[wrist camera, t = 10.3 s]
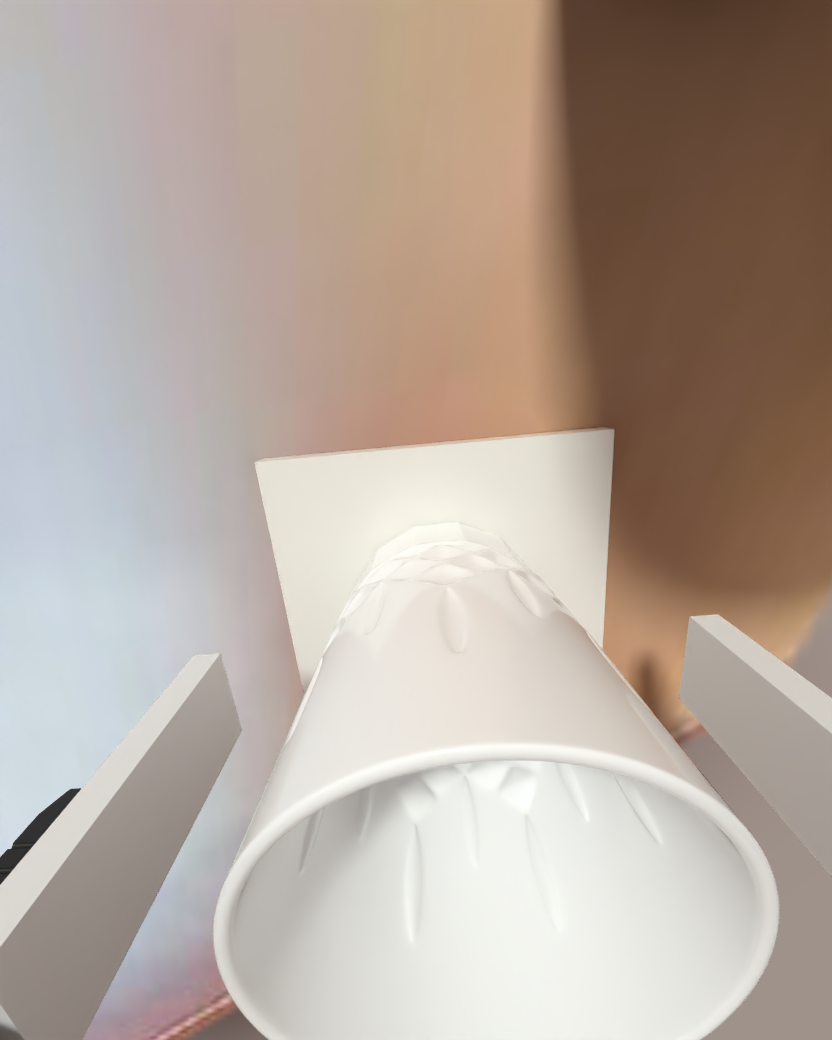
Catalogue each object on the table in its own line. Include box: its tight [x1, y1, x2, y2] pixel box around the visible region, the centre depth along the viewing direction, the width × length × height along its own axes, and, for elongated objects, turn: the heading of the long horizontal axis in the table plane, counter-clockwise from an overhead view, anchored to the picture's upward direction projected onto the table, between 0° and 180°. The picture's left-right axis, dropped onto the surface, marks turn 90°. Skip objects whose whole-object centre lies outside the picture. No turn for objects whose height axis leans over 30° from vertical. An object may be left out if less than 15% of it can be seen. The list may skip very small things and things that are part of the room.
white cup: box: [213, 522, 780, 1040], centre depth 10 cm, size 8×8×10 cm
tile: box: [255, 427, 615, 694], centre depth 16 cm, size 12×12×1 cm
